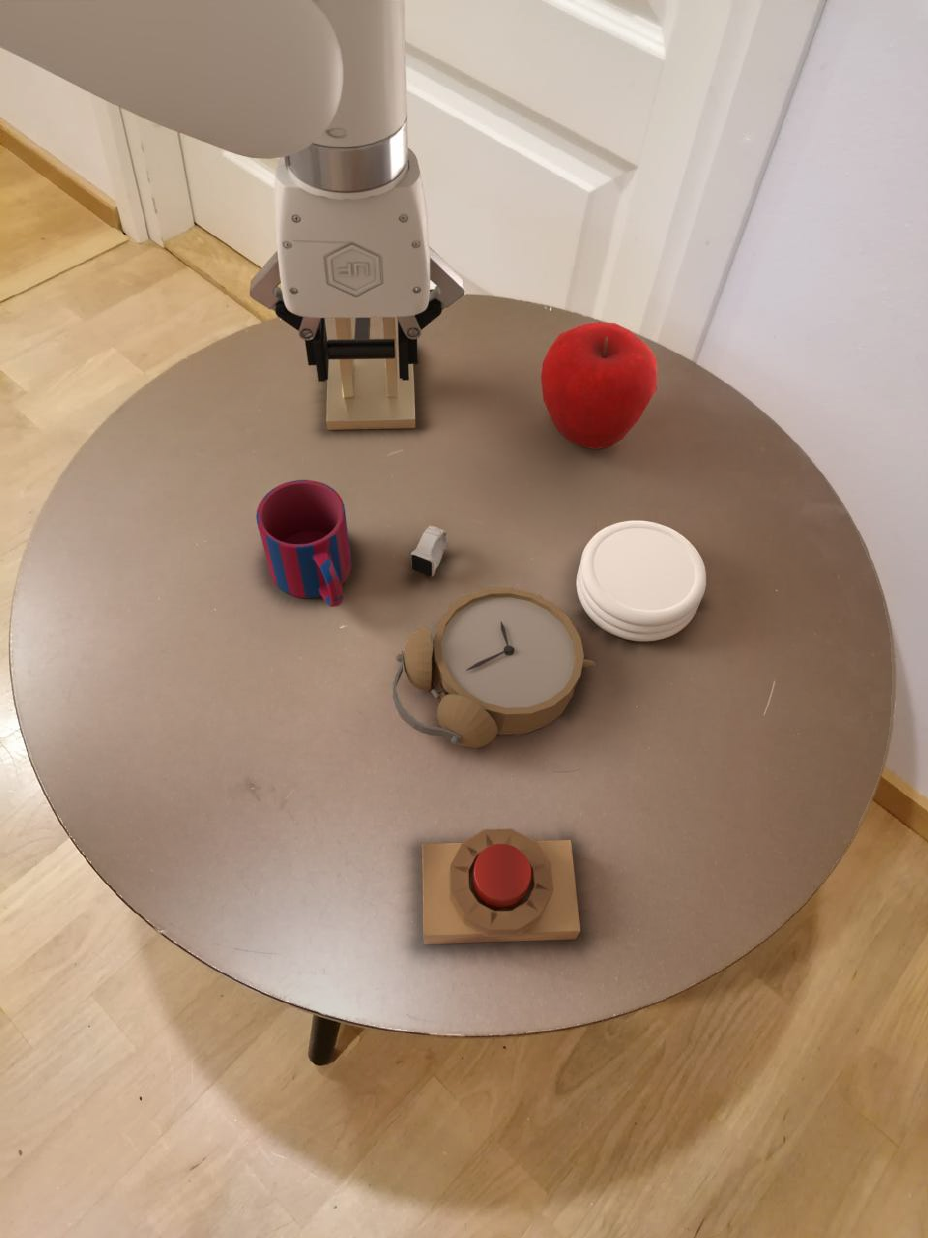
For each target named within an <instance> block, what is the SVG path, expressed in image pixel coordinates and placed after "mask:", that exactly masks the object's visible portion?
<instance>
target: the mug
mask: <svg viewBox="0 0 928 1238" xmlns="http://www.w3.org/2000/svg"><path fill="white" fill-rule="evenodd" d="M255 517H256V524H257V528H258V532H259V536H260V540H261V544H262V548H263V553H264V557H265V559H266V563H267V567H268V571H269V576H270V578H271V580H272V581H273V583H274V585H275V586H276V587H277V588H278V589H279V590H281V591H282V592H284V593H286V594H288V595H290V596H293V597H295V598H300V599H314V598H321V597H322V599H323V601H324V602H325V603H326V604H327V606H329V607H331V608H334V607H339V606H340V605H342V604H343V601H344V592H343V586H342V585H343V584H344V583H345V582H346V580H347V579H348V577H349V574H350V573H351V568H352V556H351V555H352V554H351V547H350V540H349V530H348V523H347V515H346V508H345V503H344V501H343V498H342V497H341V495H340V494H339V493H338V492H337V491H336V490H335V489H334V488H332V487H331V486H329V485H328V484H325V483H324V482H320V481H317V480H312V479H296V480H291V481H286V482H284V483H281V484H279V485H277V486H275V487H274V488H272V489H270V490H269V491H268V492H267V493H266V494H265V495H264V496H263V498H261V501H260V502H259V504H258V507H257V510H256V516H255Z"/></svg>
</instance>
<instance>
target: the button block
mask: <svg viewBox="0 0 928 1238" xmlns="http://www.w3.org/2000/svg"><path fill="white" fill-rule="evenodd" d="M495 844H509V845H512V846H514V847H516V848H518V849H519V850H521V851H522V852H523V853H524V854H525V856H526V857H527V859H528V861H529V863H530V866H531V880H530V883H529V887H528V890H527V892H526V894H525V896H524V897H523V899H522V900H521V901H520V902H518V903H517V904H515V905H513V906H510V907H506V908H498V907H493V906H491V905H488V904H487V903H485V902H484V901H483V900H482V899H481V898H480V897H479V896H478V895H477V893H476V891H475V889H474V885H473V872H474V865H475V862H476V859H477V857H478V856H479V854H480V853H481V852H482V851H483V850H484V849H486V848H487V847H489V846H492V845H495ZM421 863H422V865H421V866H422V871H421V873H422V927H423V928H422V929H423V930H422V931H423V932H422V933H423V934H422V935H423V945H441V944H442V945H443V944H473V943H502V942H503V943H504V942H509V943H510V942H535V941H536V942H539V941H540V942H541V941H566V940H569V941H570V940H577V938H578V936H579V934H580V932H581V923H580V922H581V921H580V914H579V913H580V912H579V904H578V894H577V884H576V883H577V882H576V873H575V863H574V854H573V846H572V839H557V840H556V839H555V840H535V839H533V838H530V837H528V836H527V835H525V834H523V833H521V832H519V831H517V830H515V829H513V828H486V829H483V830H482V831H480V832H478V833H476V834H474V835H473V836H471V837H469V838H468V839H466V840H465V841H463V842H447V843H446V842H445V843H443V842H442V843H422V844H421Z"/></svg>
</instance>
